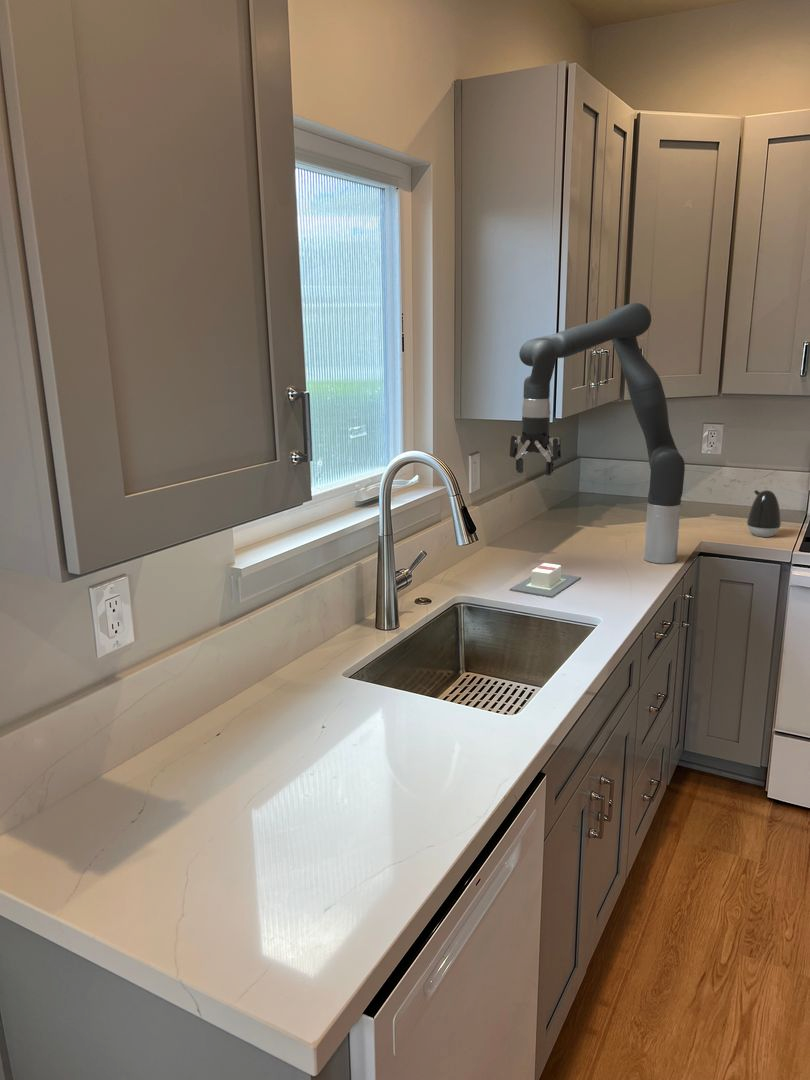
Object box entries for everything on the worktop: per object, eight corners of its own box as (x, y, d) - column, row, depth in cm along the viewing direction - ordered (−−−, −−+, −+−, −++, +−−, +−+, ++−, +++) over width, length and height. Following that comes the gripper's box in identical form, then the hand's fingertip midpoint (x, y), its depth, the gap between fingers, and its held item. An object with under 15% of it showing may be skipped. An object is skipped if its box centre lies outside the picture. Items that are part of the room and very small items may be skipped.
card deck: (530, 585, 212) (531, 570, 211) (543, 576, 220) (544, 562, 219) (548, 588, 210) (549, 573, 209) (560, 579, 217) (561, 565, 216)
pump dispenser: (763, 530, 271) (767, 486, 268) (786, 537, 262) (791, 492, 258) (738, 533, 268) (743, 488, 265) (761, 540, 259) (765, 494, 255)
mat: (540, 571, 226) (540, 570, 226) (581, 578, 220) (581, 576, 220) (509, 590, 210) (509, 588, 210) (552, 597, 204) (552, 595, 204)
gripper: (506, 415, 218) (505, 473, 221) (555, 417, 210) (553, 478, 214) (518, 413, 224) (516, 470, 228) (565, 415, 216) (563, 474, 220)
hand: (534, 473), depth 221 cm, fingers open, 8 cm apart
